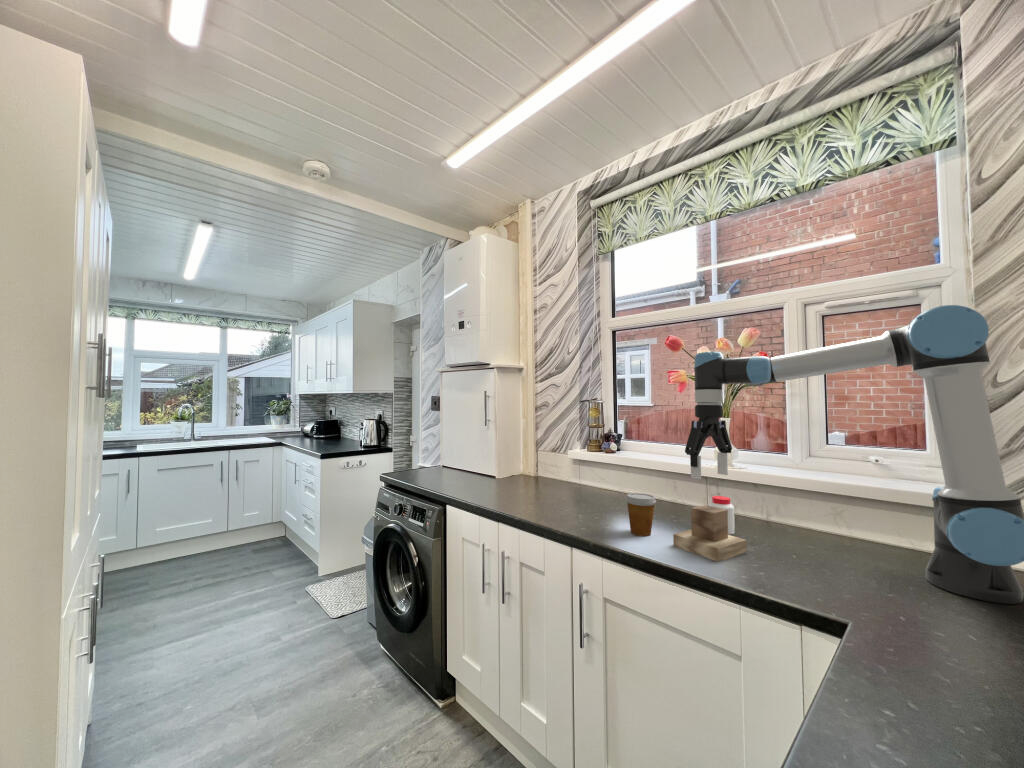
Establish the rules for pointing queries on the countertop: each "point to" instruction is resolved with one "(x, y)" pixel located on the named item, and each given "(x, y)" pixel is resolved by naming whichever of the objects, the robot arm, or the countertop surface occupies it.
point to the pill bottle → (725, 504)
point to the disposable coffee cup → (640, 513)
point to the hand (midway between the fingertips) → (709, 476)
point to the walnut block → (709, 523)
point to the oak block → (710, 546)
